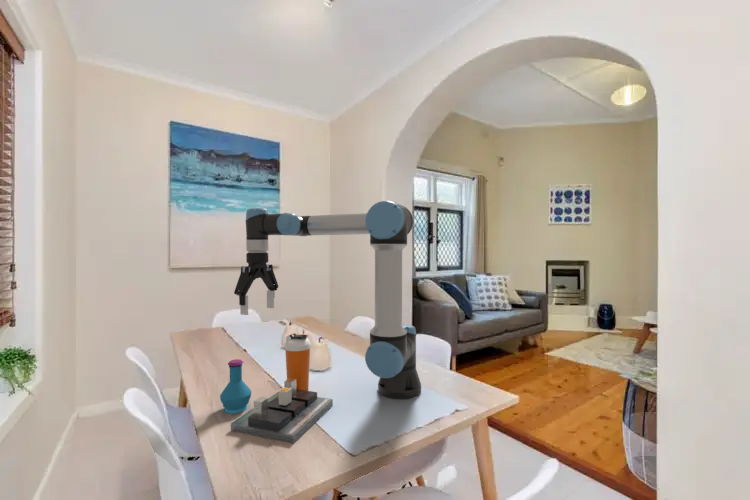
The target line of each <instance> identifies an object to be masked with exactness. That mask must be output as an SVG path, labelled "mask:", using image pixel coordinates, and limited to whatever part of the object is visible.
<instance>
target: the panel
mask: <svg viewBox="0 0 750 500" xmlns="http://www.w3.org/2000/svg"><path fill="white" fill-rule="evenodd" d="M283 384H284V386H283V388H284V387H287V388H292V402H290V403H289V404H288V405H286V406H285V405H279V391H277V392H276V393H274V394H273V395H271V396H270V397H263V396H259V397H258V398H257V399H255V400H253V408H251V410H249V411H247V412H246V413H245V414H243V415H241V416H240V417H239V418H237V419H235V420H234V421H232V422H231V423H230V431H231V432H236V433H239V434H241V433H242V434H246V435H250V436H256V437H260V438H263V439H264V438H265V439H270V440H275V441H280V442H283V443H290V444H295V443H296V442H297V441H299V439H300V438H301V437H302V436H303V435H304V434H305V433H306V432H308V430H309V429H310V428H311V427H313V426H314V425H315V424H316V422H318V421H319V419H320V418H322V417H323V414H324V413H325V412H326V411H327V410H328V411H329V410H330V409H331V408H332V407H333V405H334V403H333V400H334V399H332V398H325V397H321V396H318V391H313V390H312V391H310V390H308V391H305V390H298V389H296V379H292V378H289V379H287V378H286V380H284V383H283ZM329 408H330V409H329ZM328 411H327V412H328ZM327 412H326V413H327ZM326 413H325V414H326ZM325 414H324V415H325Z"/></svg>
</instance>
